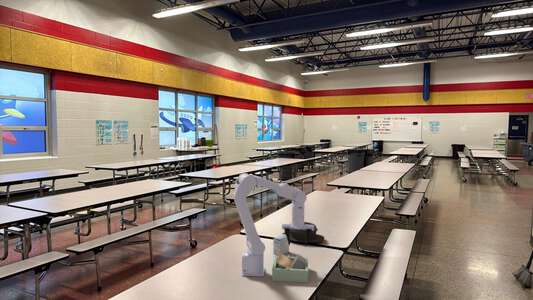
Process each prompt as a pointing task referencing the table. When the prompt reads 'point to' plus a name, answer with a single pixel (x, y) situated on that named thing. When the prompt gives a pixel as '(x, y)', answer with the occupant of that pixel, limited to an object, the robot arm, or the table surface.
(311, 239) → the casserole
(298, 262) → the gray block
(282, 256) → the trapdoor
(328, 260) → the table surface
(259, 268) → the robot arm
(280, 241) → the medicine box
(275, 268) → the trapdoor frame
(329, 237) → the table surface
